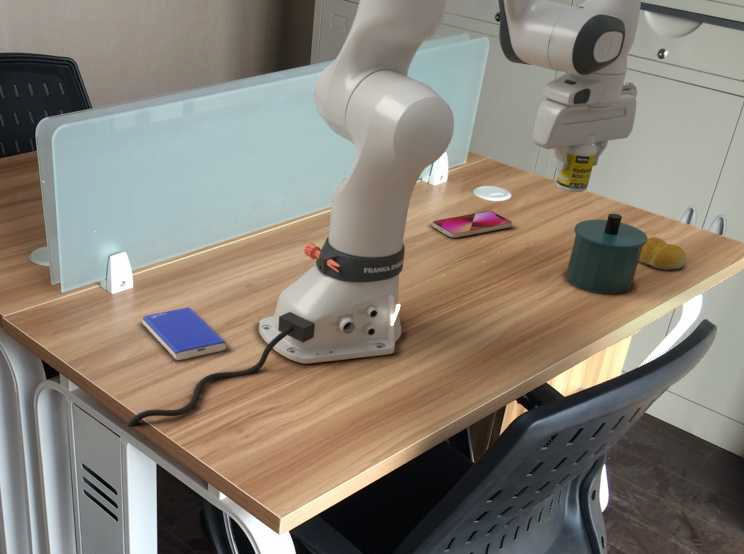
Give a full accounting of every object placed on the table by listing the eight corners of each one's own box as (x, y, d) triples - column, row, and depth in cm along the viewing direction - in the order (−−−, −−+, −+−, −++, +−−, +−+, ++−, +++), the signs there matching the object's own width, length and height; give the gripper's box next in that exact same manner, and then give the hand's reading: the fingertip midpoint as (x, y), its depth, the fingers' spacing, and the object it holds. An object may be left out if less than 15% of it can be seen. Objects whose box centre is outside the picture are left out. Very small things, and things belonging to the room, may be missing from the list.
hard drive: (142, 316, 146) (175, 351, 137) (190, 306, 149) (226, 340, 140) (142, 325, 147) (176, 361, 138) (190, 315, 150) (226, 350, 141)
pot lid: (609, 256, 157) (616, 233, 154) (558, 231, 165) (563, 208, 163) (661, 246, 162) (667, 223, 159) (608, 221, 170) (614, 199, 168)
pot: (598, 298, 162) (610, 251, 157) (553, 273, 170) (563, 228, 165) (644, 287, 166) (657, 242, 161) (598, 263, 174) (609, 219, 169)
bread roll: (670, 275, 171) (676, 254, 169) (625, 258, 177) (631, 238, 174) (693, 264, 176) (699, 243, 173) (648, 248, 181) (654, 228, 179)
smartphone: (430, 221, 186) (490, 210, 192) (429, 226, 187) (489, 214, 192) (453, 234, 181) (514, 222, 186) (452, 239, 181) (513, 227, 187)
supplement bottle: (567, 194, 165) (580, 137, 160) (549, 183, 170) (561, 128, 164) (593, 191, 167) (607, 135, 162) (575, 181, 171) (587, 126, 166)
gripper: (625, 77, 165) (605, 155, 173) (535, 86, 157) (519, 168, 165) (653, 85, 161) (631, 166, 168) (562, 96, 152) (544, 180, 160)
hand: (575, 167), depth 166 cm, fingers closed on supplement bottle, 5 cm apart
